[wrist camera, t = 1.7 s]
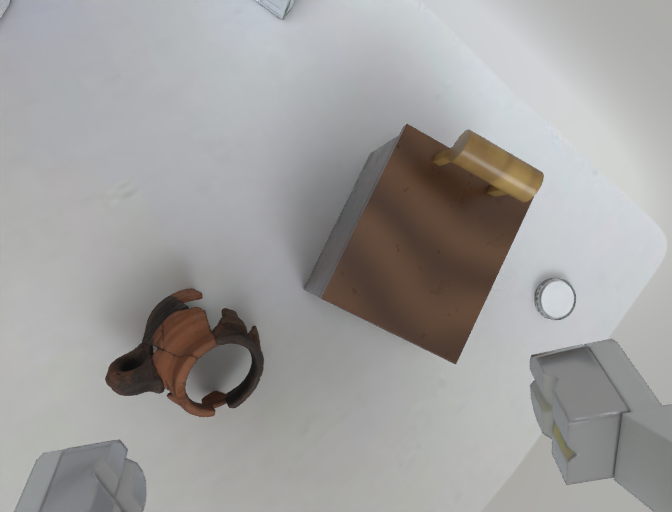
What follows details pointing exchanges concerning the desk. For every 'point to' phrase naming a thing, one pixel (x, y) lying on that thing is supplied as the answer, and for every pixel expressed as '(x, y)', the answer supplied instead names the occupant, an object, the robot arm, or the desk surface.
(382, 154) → the box
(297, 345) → the desk surface
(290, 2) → the syrup box
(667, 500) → the robot arm
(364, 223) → the chest lid
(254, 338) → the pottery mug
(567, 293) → the white flat disc
